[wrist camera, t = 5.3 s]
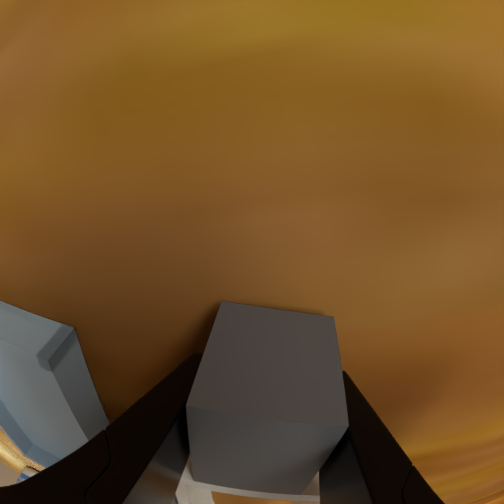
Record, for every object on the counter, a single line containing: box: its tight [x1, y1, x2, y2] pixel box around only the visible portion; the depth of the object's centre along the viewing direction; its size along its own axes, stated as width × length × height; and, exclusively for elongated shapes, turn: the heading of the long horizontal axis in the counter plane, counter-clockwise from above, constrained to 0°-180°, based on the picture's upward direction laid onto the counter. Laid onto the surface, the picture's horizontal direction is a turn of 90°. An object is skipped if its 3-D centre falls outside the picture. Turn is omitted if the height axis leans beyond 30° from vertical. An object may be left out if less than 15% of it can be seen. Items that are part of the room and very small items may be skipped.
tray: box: [0, 301, 110, 468], centre depth 13 cm, size 17×11×2 cm, turn 174°
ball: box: [211, 491, 294, 504], centre depth 10 cm, size 4×4×4 cm
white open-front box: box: [175, 301, 349, 504], centre depth 10 cm, size 13×6×4 cm, turn 174°
